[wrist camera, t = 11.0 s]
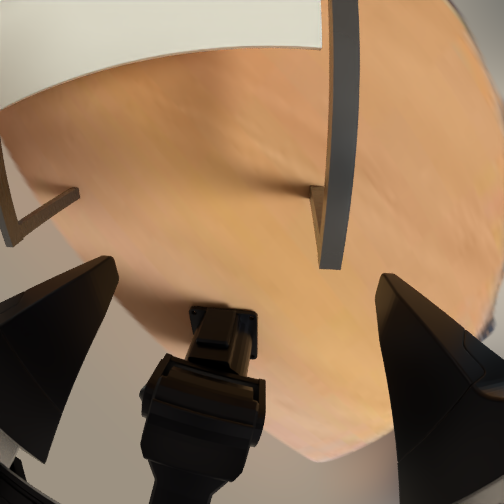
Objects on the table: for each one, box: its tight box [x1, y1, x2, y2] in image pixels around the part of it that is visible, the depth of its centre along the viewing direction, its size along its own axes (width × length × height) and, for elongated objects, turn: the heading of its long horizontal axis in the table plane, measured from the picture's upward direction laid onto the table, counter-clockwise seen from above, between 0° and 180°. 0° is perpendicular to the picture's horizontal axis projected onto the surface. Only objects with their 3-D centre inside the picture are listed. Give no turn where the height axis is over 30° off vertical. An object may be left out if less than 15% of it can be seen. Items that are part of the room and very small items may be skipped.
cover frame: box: [0, 0, 360, 270], centre depth 13 cm, size 22×22×9 cm
